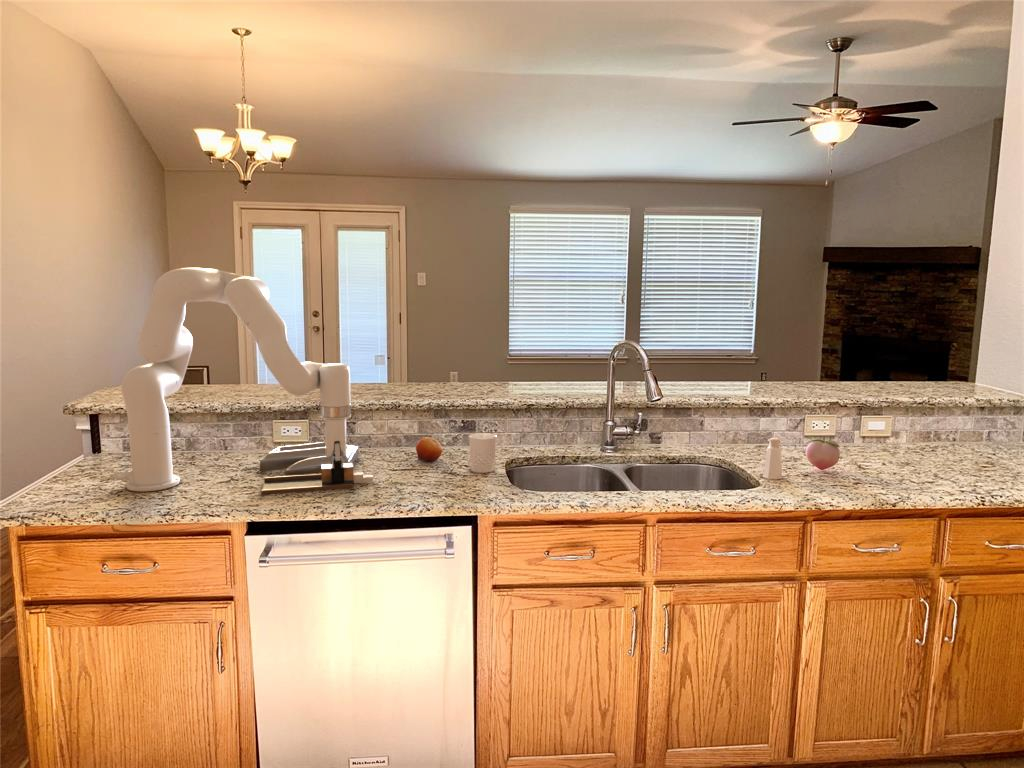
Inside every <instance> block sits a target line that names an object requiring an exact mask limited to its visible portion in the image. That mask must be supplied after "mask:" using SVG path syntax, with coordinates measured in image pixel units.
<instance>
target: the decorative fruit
mask: <svg viewBox="0 0 1024 768" xmlns="http://www.w3.org/2000/svg"><path fill="white" fill-rule="evenodd" d="M806 443H807V444H808V445H807V446H806V449H805V458H806V459H807V461H808V462H809V463H810V464H811V465H812V466H814V467H816V468H817V469H818V470H820V471H824V470H827V469H830V468H832V467H834V466H836V464H838V462H839V460H840V456H841V453H840V448H841V446H840V445H839V443H838V442H836V441H833V440H827V439H826V436H823V439H820V438H812V439H810V440H808V441H807V442H806Z"/></svg>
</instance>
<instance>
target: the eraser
mask: <svg viewBox="0 0 1024 768" xmlns="http://www.w3.org/2000/svg"><path fill="white" fill-rule="evenodd" d="M343 467H344V483H335V484H332V482H331V468H332V464H323V465H321V472H322V473H321V474H322V486H324V485H339V484H352V485H354V484H355V483H354V475H353V473H354V463H343Z"/></svg>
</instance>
